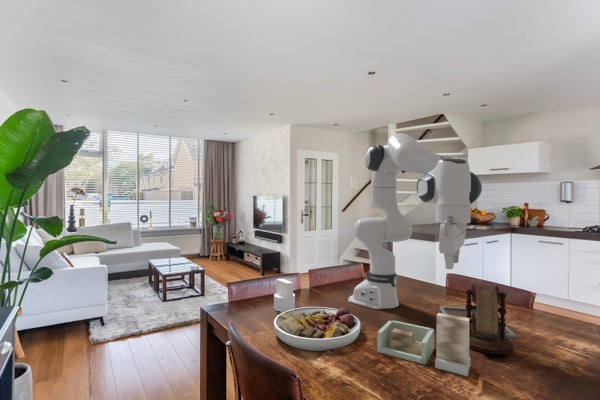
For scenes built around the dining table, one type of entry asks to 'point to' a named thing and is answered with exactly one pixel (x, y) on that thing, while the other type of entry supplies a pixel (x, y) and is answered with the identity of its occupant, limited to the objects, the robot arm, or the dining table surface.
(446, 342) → the beige streaked board
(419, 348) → the offcut long
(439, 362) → the holder
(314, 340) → the bowl
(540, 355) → the dining table surface
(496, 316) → the scroll
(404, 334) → the offcut short
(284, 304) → the base with upright slab
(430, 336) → the box
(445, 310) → the framed board
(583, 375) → the dining table surface
